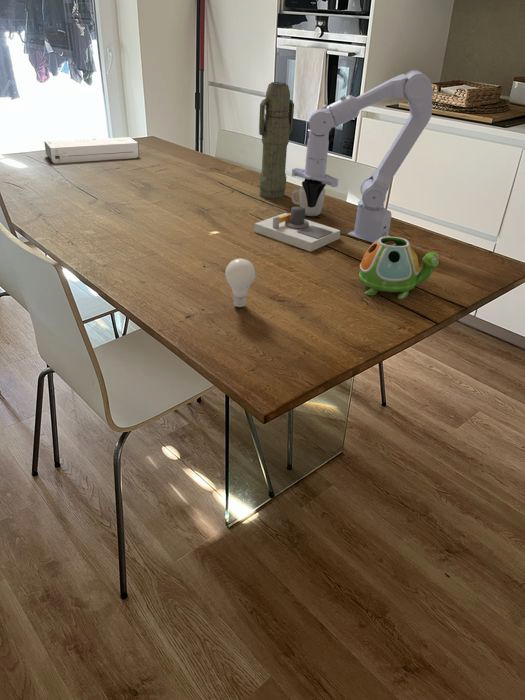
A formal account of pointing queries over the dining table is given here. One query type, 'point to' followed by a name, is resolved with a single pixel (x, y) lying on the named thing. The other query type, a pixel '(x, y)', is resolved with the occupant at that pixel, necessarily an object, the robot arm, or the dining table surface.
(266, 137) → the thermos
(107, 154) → the laminator
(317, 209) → the cup
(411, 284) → the turtle holder
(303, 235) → the socket board
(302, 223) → the plug
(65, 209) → the dining table surface
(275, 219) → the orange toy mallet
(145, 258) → the dining table surface
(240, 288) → the lightbulb
